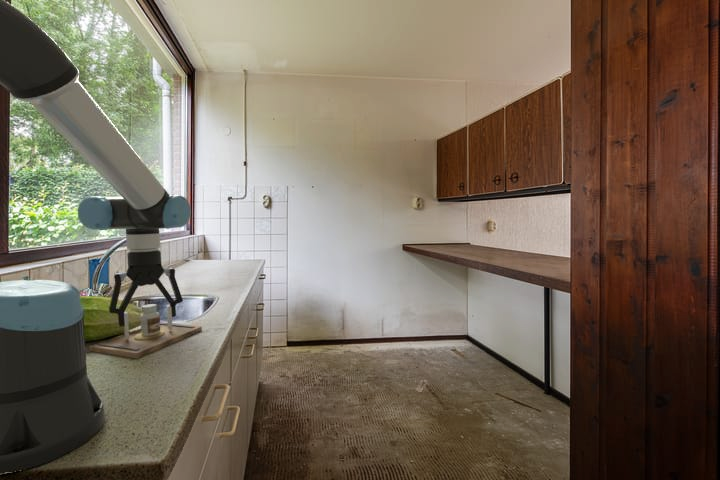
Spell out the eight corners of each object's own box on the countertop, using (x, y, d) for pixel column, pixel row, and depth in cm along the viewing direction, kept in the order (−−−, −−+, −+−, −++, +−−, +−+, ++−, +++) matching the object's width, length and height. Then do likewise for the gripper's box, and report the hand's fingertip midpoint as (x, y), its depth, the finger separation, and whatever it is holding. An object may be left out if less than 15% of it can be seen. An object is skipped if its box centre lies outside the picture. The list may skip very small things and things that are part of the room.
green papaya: (150, 317, 93) (150, 284, 102) (41, 323, 81) (54, 284, 90) (146, 349, 99) (147, 314, 108) (45, 359, 87) (56, 319, 96)
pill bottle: (151, 336, 89) (150, 307, 89) (137, 336, 90) (135, 307, 90) (164, 331, 94) (162, 303, 93) (150, 330, 95) (148, 303, 94)
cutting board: (136, 358, 80) (136, 351, 80) (89, 350, 85) (89, 344, 85) (201, 330, 98) (201, 325, 98) (160, 325, 104) (159, 320, 104)
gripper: (186, 246, 100) (190, 321, 101) (91, 252, 86) (97, 339, 87) (192, 248, 94) (196, 327, 95) (91, 254, 80) (98, 347, 82)
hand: (149, 333), depth 91 cm, fingers open, 9 cm apart
